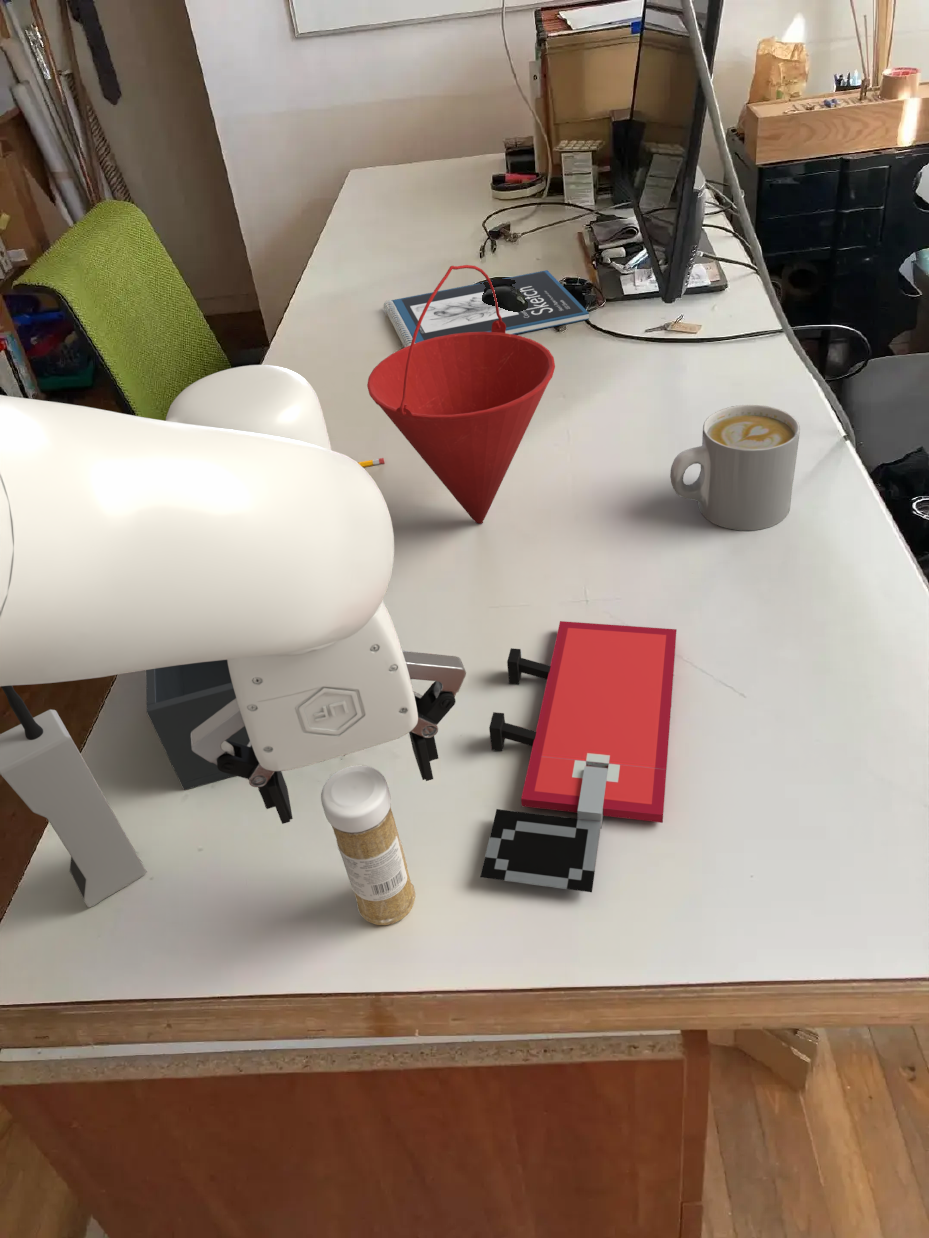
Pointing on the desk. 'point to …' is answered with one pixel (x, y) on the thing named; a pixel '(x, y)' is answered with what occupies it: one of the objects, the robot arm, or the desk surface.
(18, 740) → the vintage mobile phone
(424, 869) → the desk surface
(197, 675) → the wastebin
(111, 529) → the robot arm
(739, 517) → the coffee mug
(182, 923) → the desk surface
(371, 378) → the fire bucket
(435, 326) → the sketchbook
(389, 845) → the sprinkles bottle
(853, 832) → the desk surface
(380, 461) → the pencil
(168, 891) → the desk surface
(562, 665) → the red board with handle
